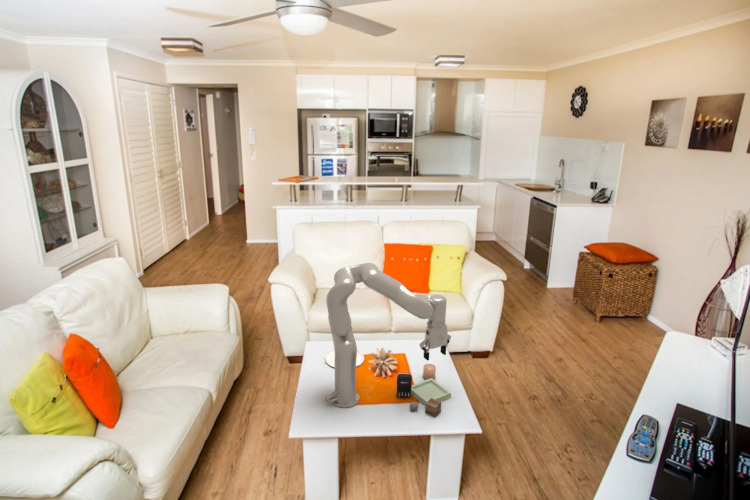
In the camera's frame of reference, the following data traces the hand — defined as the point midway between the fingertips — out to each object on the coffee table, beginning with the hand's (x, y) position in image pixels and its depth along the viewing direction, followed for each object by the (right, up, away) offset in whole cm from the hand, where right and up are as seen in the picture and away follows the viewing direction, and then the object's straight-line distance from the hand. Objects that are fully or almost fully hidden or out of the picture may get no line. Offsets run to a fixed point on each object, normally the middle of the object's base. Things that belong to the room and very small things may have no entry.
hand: (434, 356), depth 203 cm
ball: (-10, -21, -8) cm, 25 cm away
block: (-2, -22, -10) cm, 24 cm away
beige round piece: (-1, -15, +16) cm, 22 cm away
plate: (-43, -10, +32) cm, 55 cm away
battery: (-14, -19, +1) cm, 24 cm away
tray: (-2, -18, +3) cm, 19 cm away
